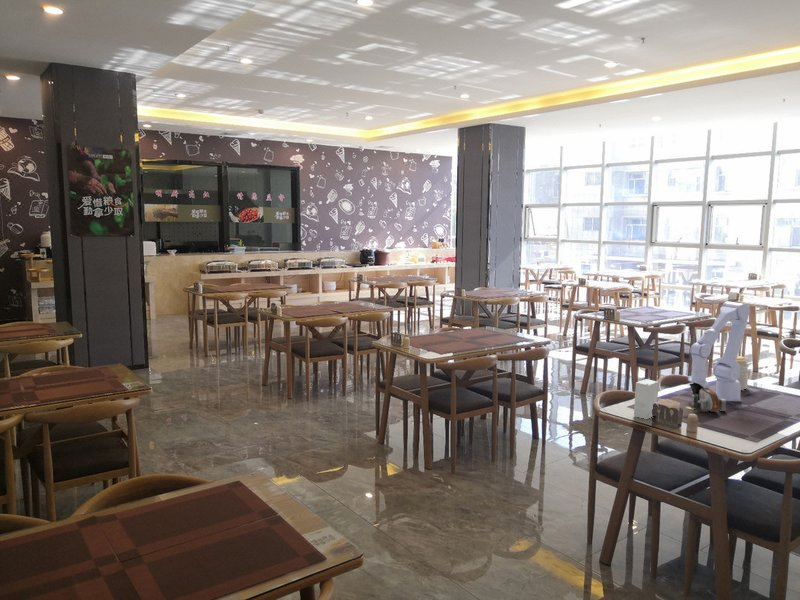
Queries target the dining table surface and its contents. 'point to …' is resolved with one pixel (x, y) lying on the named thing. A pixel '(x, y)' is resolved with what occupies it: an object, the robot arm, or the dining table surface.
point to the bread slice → (709, 399)
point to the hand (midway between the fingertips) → (697, 400)
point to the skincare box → (645, 398)
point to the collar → (694, 400)
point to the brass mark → (691, 408)
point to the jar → (743, 371)
